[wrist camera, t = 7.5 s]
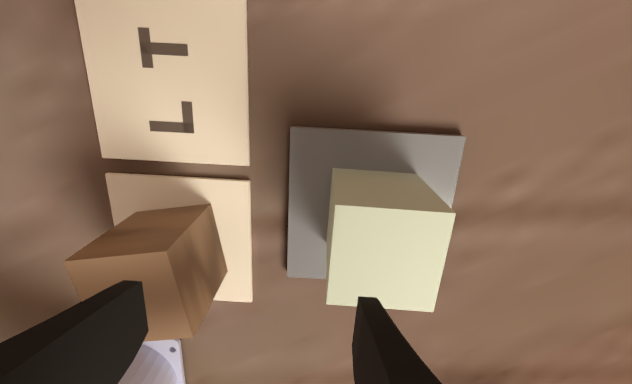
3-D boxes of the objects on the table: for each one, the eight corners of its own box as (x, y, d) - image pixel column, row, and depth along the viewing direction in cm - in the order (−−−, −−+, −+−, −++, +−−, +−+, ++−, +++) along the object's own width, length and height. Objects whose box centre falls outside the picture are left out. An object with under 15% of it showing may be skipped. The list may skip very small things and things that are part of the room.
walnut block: (227, 271, 22) (193, 337, 16) (157, 277, 22) (100, 345, 16) (211, 203, 20) (166, 251, 14) (136, 211, 21) (63, 261, 15)
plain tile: (252, 299, 23) (251, 302, 23) (128, 292, 23) (126, 294, 23) (250, 180, 20) (249, 181, 20) (108, 172, 20) (104, 173, 20)
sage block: (403, 248, 20) (433, 311, 15) (326, 242, 20) (326, 304, 15) (416, 173, 19) (455, 213, 13) (332, 167, 19) (335, 204, 13)
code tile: (249, 164, 20) (248, 165, 19) (105, 156, 20) (101, 157, 19) (246, -3, 17) (245, -5, 16) (76, -11, 17) (71, -13, 16)
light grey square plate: (432, 280, 22) (435, 285, 21) (288, 271, 22) (286, 276, 21) (461, 134, 19) (465, 136, 18) (291, 125, 19) (290, 127, 18)
